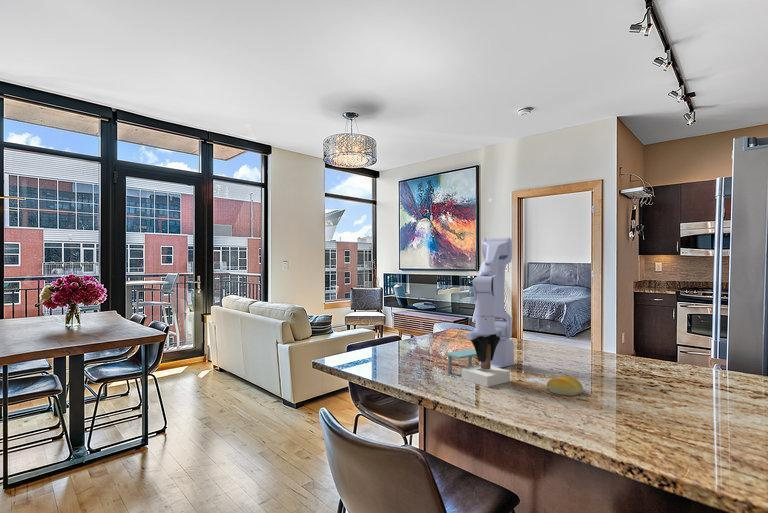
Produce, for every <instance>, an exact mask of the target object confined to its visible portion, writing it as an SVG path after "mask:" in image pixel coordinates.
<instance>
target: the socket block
mask: <svg viewBox="0 0 768 513" xmlns="http://www.w3.org/2000/svg"><path fill="white" fill-rule="evenodd" d="M461 380H465V381H467V382H471V383H473V384H477V385H479V386H483V387H485V388H490V387H493V386H497V385H501V384H505V383H509V382H511V371H510V370H508V369H507V370H506V369H503V368H502V367H501V368H497V367H493V366H491V368H490V369H482V368H481V364H476V365H472V367H468V366H467V367H464V368H461Z"/></svg>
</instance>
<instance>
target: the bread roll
mask: <svg viewBox="0 0 768 513" xmlns="http://www.w3.org/2000/svg"><path fill="white" fill-rule="evenodd" d="M546 388H547V389H548V391H550V393H551V394H552V393H553V394H555V395H559V396H569V397H572V396H577V395H580V394H582V393H583V392H584V386H583V384H582V383H581V381H579V379H577V378H575V377H573V376H568V375H562V376H559V377H554V378H550V379H549V380H548V381H547V383H546Z"/></svg>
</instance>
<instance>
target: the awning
mask: <svg viewBox="0 0 768 513" xmlns="http://www.w3.org/2000/svg"><path fill="white" fill-rule="evenodd" d="M445 356H447V374H448V375H452V373H453V358H455V359H457V360H458V359H459V360H461V359H466V358H467V368H468V367H472V366H473V363H472V362H473V361H472V360H473V359H472V357H477V354H476V350H475V349H472V348H468V349H467V348H466V349H463V350H455V351H451V352H446V353H445Z"/></svg>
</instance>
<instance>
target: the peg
mask: <svg viewBox="0 0 768 513" xmlns="http://www.w3.org/2000/svg"><path fill="white" fill-rule="evenodd" d="M480 365H481V368H482V369H490V368H491V345H490V344H488V345H487V348H486V359H485V362H480Z"/></svg>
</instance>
